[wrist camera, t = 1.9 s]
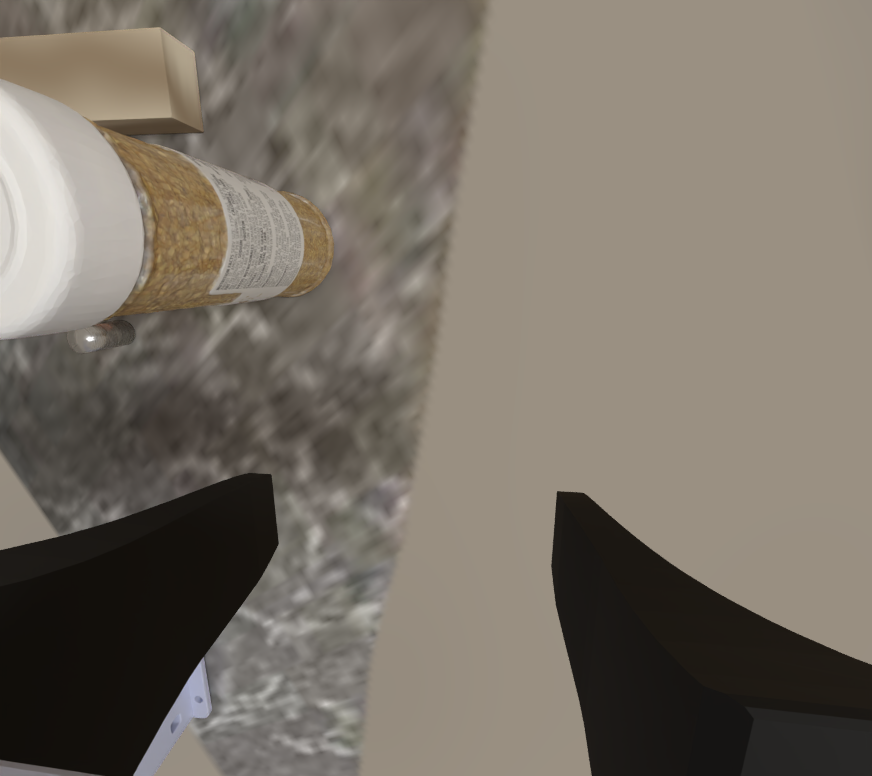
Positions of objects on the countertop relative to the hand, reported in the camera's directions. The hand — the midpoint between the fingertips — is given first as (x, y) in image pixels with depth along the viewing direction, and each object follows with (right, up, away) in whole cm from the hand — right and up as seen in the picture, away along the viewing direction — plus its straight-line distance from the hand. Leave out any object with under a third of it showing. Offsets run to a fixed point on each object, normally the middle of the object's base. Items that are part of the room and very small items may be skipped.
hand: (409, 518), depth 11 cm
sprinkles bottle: (-6, +10, +9) cm, 15 cm away
